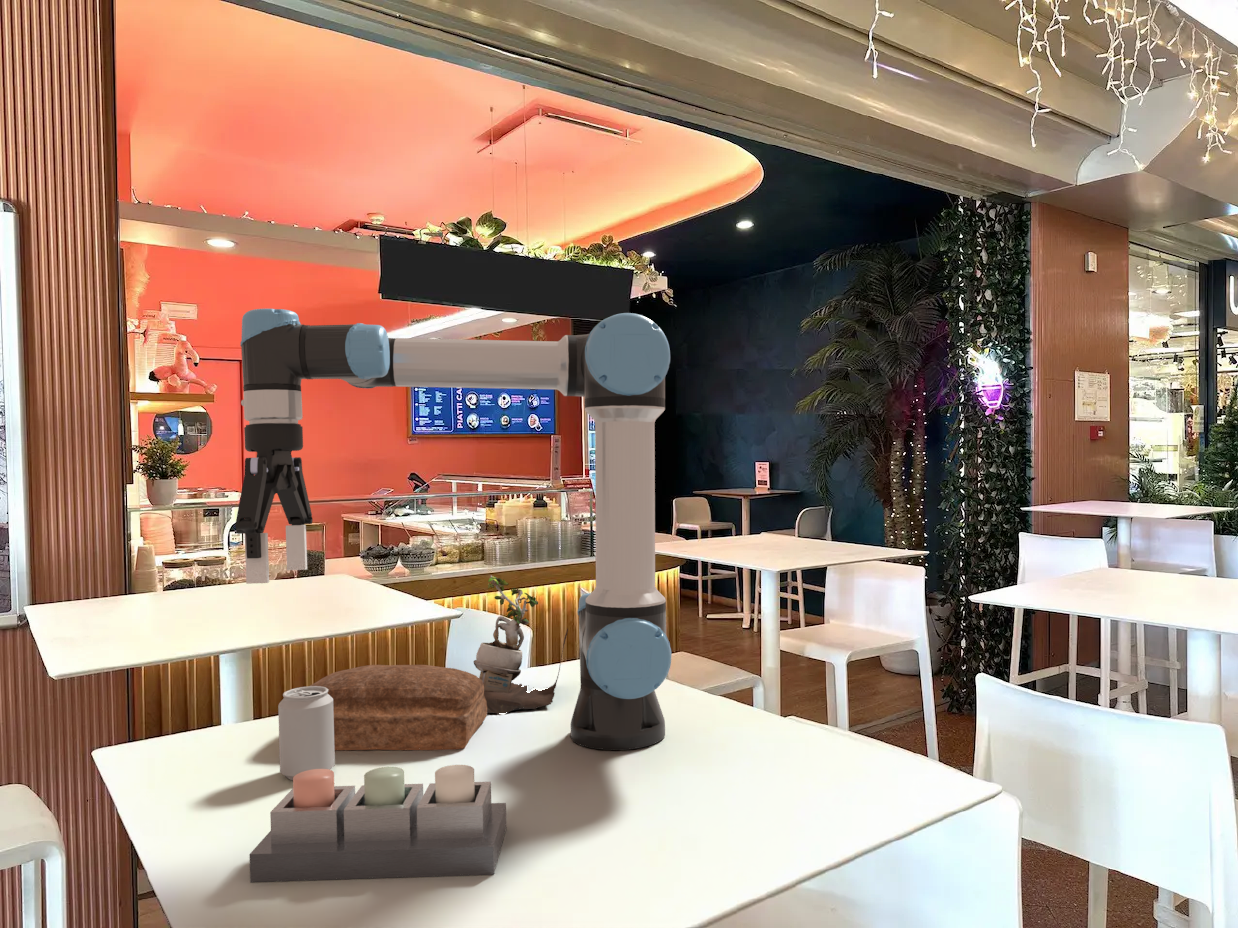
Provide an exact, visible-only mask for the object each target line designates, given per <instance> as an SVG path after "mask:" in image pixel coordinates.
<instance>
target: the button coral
mask: <svg viewBox="0 0 1238 928" xmlns="http://www.w3.org/2000/svg"><path fill="white" fill-rule="evenodd" d="M292 786H293V787H292V789H293V796H294V808H307V807H330V806H331V805H332V804H333V802H334V801H335V794H334V786H335V771H333V770H332V769H330V770H329V769H312V770H307V771H304V772H301V773H298V774H296V775H295V776H294V777H293V780H292Z"/></svg>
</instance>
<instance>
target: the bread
mask: <svg viewBox="0 0 1238 928" xmlns="http://www.w3.org/2000/svg"><path fill="white" fill-rule="evenodd" d="M309 686H321V687H326V688H327V689H328V692H327V693H328V694H329V695H330V696H331V697H332V698H333V710H334V748H335V751H358V750H359V751H363V750H364V751H367V750H369V751H370V750H385V751H386V750H387V751H442V750H443V751H444V750H445V751H446V750H449V751H450V750H451V751H453V750H462V749H465V748H466V746H467V745H468V743H469V742H470V740H471V738H472V737H473V736H474V734H475V733H476V732H477V731H478V730H479V728H480V727H481V725H482V724H483V723H484V721H485V719H486V718H487V716H488V713H487V702H486V699H485V696H484V685H483V681H482V680H481V679H479V676H477V675H475V674H473V673H470V672H468V671H465V670H462V669H457V668H454V667H453V668H451V667H442V666H437V665H436V666H434V665H429V664H428V665H427V664H394V665H393V664H391V665H389V664H388V665H387V664H369V665H362V666H358V667H353V668H348V669H343V670H338V671H335V672H332V673H330V674H327V675H326V676H324V677H322V678H321V679H319V680H317V681H316V682H314V683H312V684H311V685H309Z"/></svg>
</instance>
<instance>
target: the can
mask: <svg viewBox="0 0 1238 928" xmlns="http://www.w3.org/2000/svg"><path fill="white" fill-rule="evenodd" d="M327 692H328V689H327V688H326V687H321V686H310V685H308V686H300V687H295V688H291V689H289V690H286V691H284V692H283V693H282V696H283V699H282V700H281V701H280V702H279V703H278V706H277V707H278V708H277V710H278V711H277V712H278V714H277V715H278V743H279V744H278V745H279V746H278V747H279V772H280V774H282V775H283V776H284V777H285V778H286V779H288V780H290V781H293V777H294V776H295V775H296V774H298V773H301V772H304V771H307V770H312V769H329V770H332V769H333V768H334V767H335V764H336V753H335V751H336V750H335V748H334V710H333V698H332V697H331V696H330V695H329V694H328V693H327Z"/></svg>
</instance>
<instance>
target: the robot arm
mask: <svg viewBox="0 0 1238 928" xmlns="http://www.w3.org/2000/svg"><path fill="white" fill-rule="evenodd" d="M240 340H241V341H240V349H241V364H242V369H241V370H242V383H243V386H242V388H243V390H242V391H243V399H241V402H240V405H241V406H242V407H243V415H244V416H243V417H244V418H243V419H244V420H245V421H247V422H248V424H246V425H245V426H244V428H243V429H244V430H243V433H244V434H243V435H244V449H245V451H246V452H250V453H256V457H246V458H245V459H244V477H243V481H242V487H241V491H240V492H241V493H240V496H239V503H238V507H237V514H236V520H235V525H234V526H235V532H236V534H239V535H240V534H242V535H243V534H244V548H245V549H244V551H245V554H244V555H245V556H244V559H245V582H246V583H245V584H248V585H249V584H252V585H253V584H268V583H270V566H269V564H270V562H269V560H270V559H269V533H268V532H264V531H265V528H266V525H267V522H268V517H269V515H270V511H271V508H272V505H273V502H274V498H275V495H276V494H277V496H278V499H279V501H280V504H281V507H282V510H283V512H284V515H285V518H286V521H287V522H288V524H287V525H285V545H286V547H285V548H286V549H285V550H286V571H305V570H308V549H307V548H308V546H307V544H308V543H307V525H312V523H313V521H314V519H313V514H312V509H311V505H310V500H309V496H308V492H307V486H306V482H305V477H304V474H303V472H304V471H303V461H302V458H301V457H293V455H292V452H298V451H301V450H302V449H303V448H304V434H303V433H304V432H303V431H304V429H303V426H302V425H301V424H300V423H299V421H301V420H303V416H304V415H303V401H302V400H303V397H302V380H342V381H344V382H345V383H348V384H349V385H351V386H353V387H355V388H358V389H368V390H369V389H374V388H377V387H379V388H380V387H382V388H384V387H385V388H386V387H388V388H391V387H399V388H400V387H404V388H405V387H407V388H408V387H409V388H454V389H455V388H457V389H458V388H459V389H460V388H461V389H462V388H463V389H467V388H469V389H470V388H471V389H511V390H513V389H515V390H516V389H517V390H518V389H519V390H521V389H522V390H557V391H558V392H559V393H560V394H562V396H563V397H582V398H583V397H584V411H585V412H586V414H588V416H590V418H591V419H593V421H594V426H595V427H594V436H595V437H594V441H595V445H594V447H595V448H594V449H595V452H594V455H595V457H594V458H595V460H594V461H595V462H594V463H595V465H594V467H595V471H594V472H595V474H594V476H595V479H594V480H595V481H594V482H595V588H594V589H593V591H592V592H590V593H589V592H588V593H583V594H582V595H581V596H580V597H579V600H578V609H577V616H578V631H579V632H578V633H579V637H578V639H579V668H580V669H579V672H580V673H579V674H580V675H579V677H580V678H579V679H580V689H579V693H578V697H577V700H576V703H575V705H574V706H575V707H574V710H573V713H572V717H571V720H570V738H571V740H572V741H573V742H574V743H576V744H577V745H580V746H582V747H585V748H590V749H596V750H603V751H605V750H607V751H622V750H624V751H625V750H634V749H639V748H640V749H641V748H645V747H648V746H652V745H654V744H657V743H659V742H660V741H662V740H663V739H664V738H665V736H666V721H665V717H664V714H663V712H662V711H663V710H662V708H661V706H660V702H659V699H658V696H657V694H656V691H655V690H657V689H658V688H659V687H660V686H661V685H662V684H663V682H664V681H665V680H666V679H667V676H668V674H669V672H670V669H671V665H672V648H671V643H670V641H669V638H668V636H667V610H666V609H667V607H666V606H667V600H666V597H665V596H664V595H663V594H662V593H661V592H660V591H659V590H658V589H657V587H656V492H655V491H656V490H655V489H656V483H655V482H656V480H655V479H656V477H655V476H656V470H655V469H656V460H655V459H656V457H655V455H656V451H655V449H656V447H655V445H656V443H655V439H656V438H655V433H656V432H655V431H656V430H655V428H656V427H655V425H656V423H655V422H656V420H657V419H658V418H659V417H660V416H661V415H662V414H663V413H664V411H665V410H666V375H667V374H668V371H669V368H670V364H671V350H670V344H669V341H668V338H667V336H666V335H665V333H664V331H663V330H662V328H661V327H660V326H658V324H657V323H655V322H654V321H653V320H651V319H650V318H648V317H646V316H644V315H643V314H638V313H633V312H632V313H631V312H623V313H617V314H613V315H611V316H609V317H606V318H604V319H603V320H602V319H601V321H600V322H598V323H597V324H596V325H595V326H594V327H593V328H592V330H591V331H590V332H589V333H587V334H577V335H574V334H571V335H570V334H565V335H563V336H562V337H561V339H560V340H558V341H555V340H554V341H552V340H551V341H550V340H549V341H547V340H546V341H545V340H544V341H542V340H510V339H509V340H505V339H503V340H500V339H497V340H496V339H461V338H460V339H457V338H455V339H453V338H451V339H449V338H413V337H412V338H411V337H410V338H408V337H407V338H406V337H405V338H404V337H402V338H401V337H395V338H393V337H389V336H388V332H387V330H386V328H385V327H384V326H383V325H381V324H365V323H361V322H357V323H355V324H320V325H319V324H318V325H314V324H313V325H310V324H304V323H302V324H301V322H300V318H299V315H298V314H297V313H296V312H295V311H293V310H289V309H284V308H283V309H282V308H278V309H277V308H256V309H251V310H248V311H247V312H245V313H244V314H243V315H242V318H241V339H240Z"/></svg>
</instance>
